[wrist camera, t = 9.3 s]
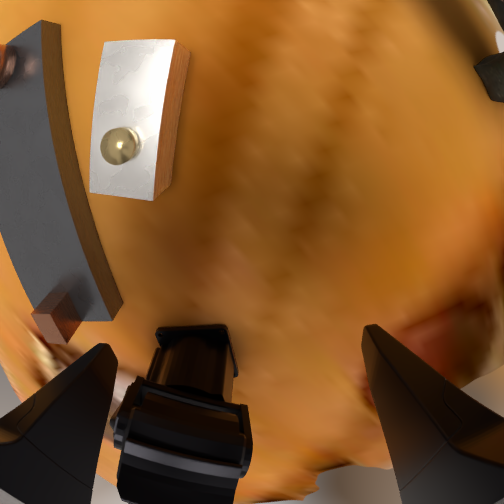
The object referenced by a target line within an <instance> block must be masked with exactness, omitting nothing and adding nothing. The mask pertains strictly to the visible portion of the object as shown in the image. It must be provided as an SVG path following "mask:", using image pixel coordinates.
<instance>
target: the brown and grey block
mask: <svg viewBox="0 0 504 504" xmlns="http://www.w3.org/2000/svg"><path fill="white" fill-rule="evenodd" d="M190 54H191V52H190V51H189V50H187V49H186V48H185V47H184V46H182V45H181V44H180V43H179V42H177V41H176V40H164V39H154V40H124V41H110V42H105V43H104V47H103V52H102V57H101V63H100V68H99V75H98V81H97V88H96V95H95V103H94V112H93V122H92V135H91V151H90V193H98V194H106V195H113V196H121V197H128V198H135V199H142V200H149V201H153V200H155V199H156V198H157V197H158V196H159V195H160V194H161V193H162V192H163V191H164V190H165V189H166V188H167V187H168V186H169V185H171V178H172V169H173V160H174V152H175V144H176V136H177V129H178V122H179V115H180V109H181V103H182V97H183V91H184V85H185V80H186V74H187V69H188V64H189V59H190Z"/></svg>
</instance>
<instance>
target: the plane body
mask: <svg viewBox="0 0 504 504" xmlns="http://www.w3.org/2000/svg"><path fill="white" fill-rule="evenodd" d="M0 232H1V235H2V238H3V240H4V243H5V246H6V248H7V251H8V253H9V256H10V258H11V261H12V263H13V266H14V268H15V270H16V273H17V275H18V277H19V279H20V281H21V284H22V286H23V288H24V290H25V292H26V294H27V296H28V298H29V300H30V302H31V304H32V306H33V308H34V311H33V312H32V313H31V315H32V317H33V319H34V321H35V322H36V324H37V326H38V328H39V329H40V331H41V333H42V334H43V336H44V338H45V339H46V341H47V343H55V344H67V343H68V342H69V340H70V339H71V337H72V336H73V334H74V333H75V331H76V330H77V328H78V327H79V325H80V324H81V322H82V321H113V319H114V318H115V316H116V314H117V312H118V311H119V309H120V307H121V306H122V304H123V302H122V299H121V297H120V294H119V292H118V289H117V287H116V284H115V282H114V279H113V277H112V274H111V271H110V269H109V266H108V263H107V260H106V258H105V255H104V252H103V249H102V246H101V243H100V240H99V237H98V234H97V231H96V228H95V225H94V221H93V218H92V215H91V211H90V208H89V204H88V201H87V197H86V194H85V190H84V186H83V182H82V178H81V174H80V170H79V166H78V161H77V157H76V152H75V147H74V142H73V137H72V132H71V126H70V121H69V115H68V108H67V101H66V94H65V86H64V77H63V66H62V53H61V33H60V25H59V24H56V23H52V22H48V21H44V20H40V21H38V22H37V23H35V24H34V25H32V26H31V27H29V28H28V29H26V30H25V31H24V32H22V33H21V34H19V35H18V36H17V37H15V38H14V39H12V40H11V41H10V42H8V43H7V44H6V45H1V44H0Z"/></svg>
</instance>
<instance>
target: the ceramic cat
mask: <svg viewBox="0 0 504 504" xmlns="http://www.w3.org/2000/svg"><path fill="white" fill-rule="evenodd" d="M487 1H488V3H489V4H490V6H491V8H492V10H493V12H494V14H495V16H496V18H497V20H498V22H499V24H500V26H501V28H502V29H503V31H504V0H487ZM474 68H475V70H476V71H477V73H478V74H479V76H480V77H481V79H482V80H483V82H484V84H485V86H486V89H487V91H488V94H489V96H490V98H491V100H493V101H497V102H503V103H504V52H502V53H498V54H495V55H490V56H488V57H486V58H484V59H483V60H482V61H481V62H480V63H479V64H478V65H476V66H474Z"/></svg>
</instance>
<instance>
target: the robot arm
mask: <svg viewBox="0 0 504 504" xmlns="http://www.w3.org/2000/svg"><path fill="white" fill-rule="evenodd" d="M221 330H222V331H224V332H221ZM160 333H161V334H160ZM155 336H156V338H157V340H158V343H159V345H160V348H157V349H156V350H155V353H154V355H153V358H152V361H151V364H150V366H149V369H148V372H147V375H146V378H145V379H144V378H143V377H140V376H137V378H136V380H135V382H134V383H133V382H132V384H131V385H130V386H128V388H127V391H126V393H125V396H124V398H123V401H122V402H121V404H120V406H119V407H118V408H117V410H116V411H115V413H114V414H113V416H112V417H111V419H110V426H111V428H112V430H113V431H114V435H113V436H114V448H117V449H120V450H121V455H120V460H119V466H118V471H117V480H118V481H117V489H118V492H119V495H120V498H121V500H122V501H124V502H127V503H128V504H233V501H234V495H235V490H236V487H237V483H238V480H239V478H243V477H244V476H245V475H246V473H247V471H248V468H249V466H250V462H251V457H252V450H253V440H252V433H251V426H250V419H249V413H248V406H247V405H244V404H240V405H239V404H234V403H231V400H232V388H233V378H234V377H237V376H238V367H237V363H236V359H235V356H234V352H233V348H232V344H231V340H230V336H229V331H228V328H227V327H226V326H224V325H214V326H197V327H176V328H158V329H157V330H156V333H155ZM361 347H362V353H363V358H364V362H365V367H366V372H367V377H368V382H369V387H370V390H371V394H372V397H373V400H374V403H375V406H376V409H377V413H378V416H379V419H380V422H381V426H382V429H383V432H384V436H385V439H386V443H387V446H388V450H389V453H390V457H391V460H392V464H393V468H394V471H395V475H396V479H397V483H398V487H399V491H400V496H401V500H402V504H504V417H502V416H500V415H498V414H497V413H495V412H494V411H492V410H490V409H489V408H487V407H485V406H484V405H482V404H481V403H479V402H478V401H476V400H475V399H473V398H472V397H470V396H469V395H467V394H466V393H464V392H463V391H462V390H460V389H459V388H458V387H456V386H455V385H454V384H452V383H451V382H450V381H449V380H447V379H446V380H445V377H444V376H442V375H441V374H440V373H438V372H437V371H436V370H435V369H433V368H432V367H431V366H430V365H428V364H427V363H426V362H425V361H423V360H422V359H421V358H419V357H418V356H417V355H416V354H414V353H413V352H412V351H411V350H409V349H408V348H407V347H405V346H404V345H403V344H402V343H400V342H399V341H398V340H396V339H395V338H394V337H393V336H391V335H390V334H389V333H387V332H386V331H385V330H384V329H382V328H381V327H380V326H378V325H377V324H372V325H366V326H365V327H364V329H363V336H362V343H361ZM117 367H118V360H117V357H116V356H115V354H114V352H113V350H112V348H111V347H110V345H109V344H107V343H99V344H97V345H96V346H94V347H93V348H92V349H90V350H89V351H88V352H86V353H85V354H84V355H83V356H81V357H80V358H79V359H77V360H76V361H75V362H74V363H72V364H71V365H70V366H69V367H67V368H66V369H65V370H63V371H62V372H61V373H60V374H58V375H57V376H56V377H55V378H53V379H52V380H51V381H50V382H48V383H47V384H46V385H44V386H43V387H42V388H41V389H39V390H38V391H37V392H36V393H34V394H33V395H32V396H31V397H29V398H28V399H27V400H26V401H24V402H23V403H22V404H20V405H19V406H18V407H16V408H15V409H13V410H12V411H10V412H9V413H8V414H6V415H5V416H3V417H2V418H0V504H91V497H92V491H93V490H92V489H93V484H94V478H95V473H96V468H97V462H98V457H99V453H100V448H101V443H102V439H103V434H104V430H105V426H106V422H107V417H108V413H109V409H110V405H111V401H112V397H113V391H114V385H115V379H116V373H117Z"/></svg>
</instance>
